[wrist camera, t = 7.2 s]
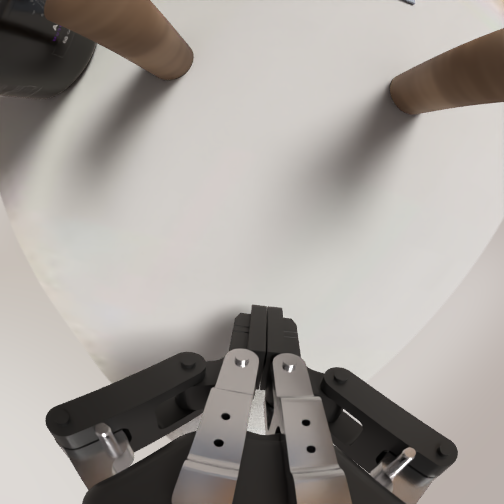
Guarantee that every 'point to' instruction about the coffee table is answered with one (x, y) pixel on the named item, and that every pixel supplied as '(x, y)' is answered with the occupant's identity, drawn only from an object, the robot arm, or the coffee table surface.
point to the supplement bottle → (38, 52)
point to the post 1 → (127, 32)
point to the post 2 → (454, 78)
